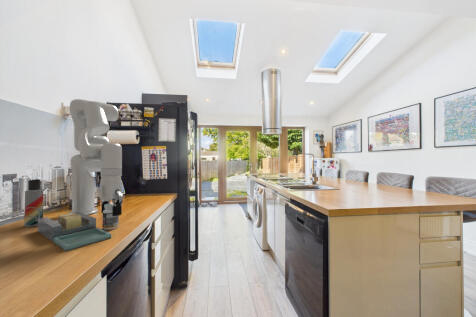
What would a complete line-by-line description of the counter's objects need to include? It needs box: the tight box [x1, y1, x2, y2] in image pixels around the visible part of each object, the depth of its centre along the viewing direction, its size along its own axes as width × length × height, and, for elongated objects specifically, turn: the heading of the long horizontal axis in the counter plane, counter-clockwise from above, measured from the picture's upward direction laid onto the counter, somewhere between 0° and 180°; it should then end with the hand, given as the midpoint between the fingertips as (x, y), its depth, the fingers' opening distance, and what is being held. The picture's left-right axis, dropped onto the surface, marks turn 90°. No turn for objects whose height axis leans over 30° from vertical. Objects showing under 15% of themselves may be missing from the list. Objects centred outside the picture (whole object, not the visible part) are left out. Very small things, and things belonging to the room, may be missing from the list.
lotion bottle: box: [23, 178, 44, 228], centre depth 87 cm, size 6×6×20 cm
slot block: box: [37, 212, 97, 243], centre depth 79 cm, size 19×13×5 cm
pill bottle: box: [102, 202, 120, 231], centre depth 83 cm, size 6×6×10 cm
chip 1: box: [58, 212, 76, 226], centre depth 79 cm, size 4×4×4 cm
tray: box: [53, 227, 112, 252], centre depth 70 cm, size 12×13×2 cm
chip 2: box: [63, 215, 81, 228], centre depth 76 cm, size 4×4×4 cm
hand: (111, 214), depth 83 cm, fingers open, 9 cm apart
